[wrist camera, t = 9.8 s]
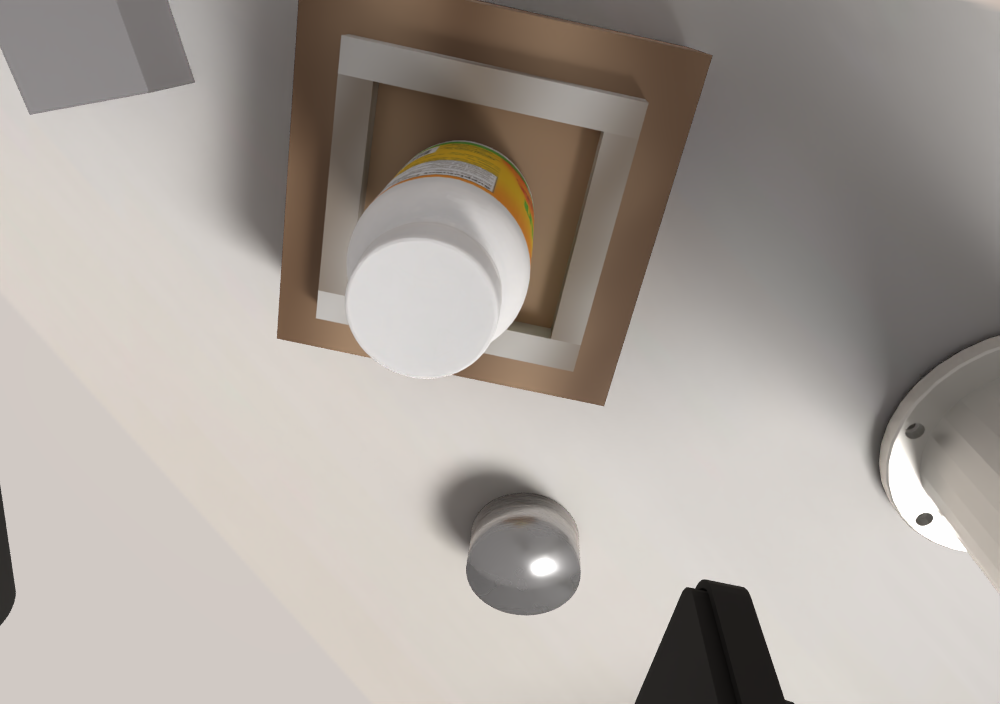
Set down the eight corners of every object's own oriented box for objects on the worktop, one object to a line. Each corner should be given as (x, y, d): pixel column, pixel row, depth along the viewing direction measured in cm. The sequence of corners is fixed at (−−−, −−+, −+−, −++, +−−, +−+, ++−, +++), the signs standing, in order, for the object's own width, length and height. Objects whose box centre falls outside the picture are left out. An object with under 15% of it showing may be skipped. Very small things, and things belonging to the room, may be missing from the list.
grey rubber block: (152, -51, 28) (95, -58, 25) (196, 82, 30) (148, 92, 27) (39, -27, 29) (-34, -31, 25) (89, 101, 31) (29, 114, 27)
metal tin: (590, 503, 39) (593, 541, 36) (564, 583, 41) (565, 624, 39) (482, 482, 39) (477, 518, 36) (463, 564, 41) (457, 603, 39)
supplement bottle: (521, 289, 28) (508, 419, 19) (386, 265, 28) (311, 385, 19) (547, 151, 26) (545, 229, 17) (399, 125, 26) (321, 189, 17)
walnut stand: (686, 47, 28) (718, 57, 23) (597, 353, 35) (605, 418, 29) (341, -31, 28) (290, -38, 23) (312, 294, 34) (268, 348, 29)
